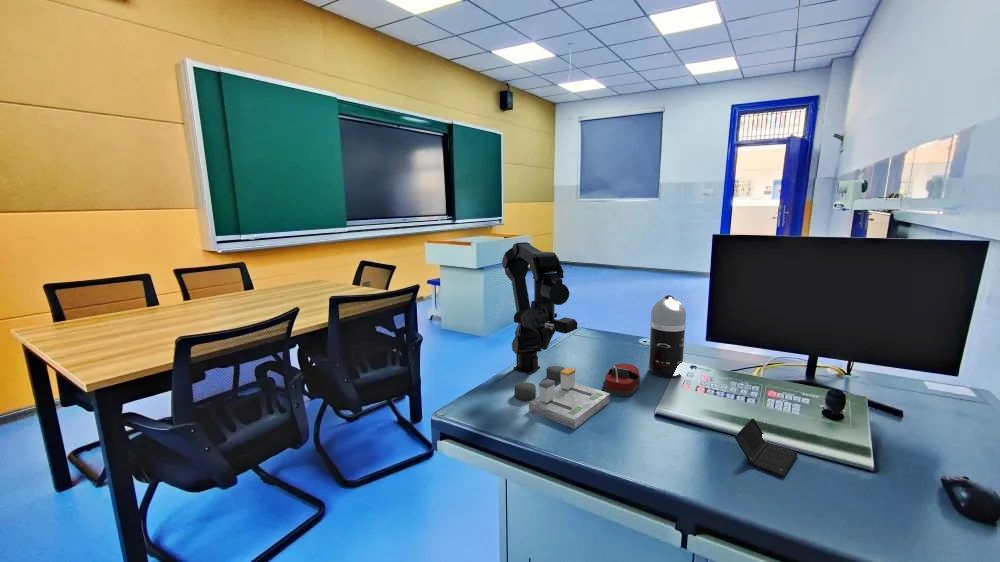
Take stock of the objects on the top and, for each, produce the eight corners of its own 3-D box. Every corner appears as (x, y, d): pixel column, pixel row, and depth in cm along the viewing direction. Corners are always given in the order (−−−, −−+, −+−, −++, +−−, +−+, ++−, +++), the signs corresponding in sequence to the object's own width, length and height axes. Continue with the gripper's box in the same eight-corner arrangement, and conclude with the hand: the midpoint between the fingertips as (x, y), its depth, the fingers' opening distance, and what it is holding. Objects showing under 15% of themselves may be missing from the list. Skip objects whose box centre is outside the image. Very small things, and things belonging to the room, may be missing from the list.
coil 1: (510, 397, 120) (510, 387, 120) (523, 390, 125) (523, 380, 124) (527, 403, 116) (526, 393, 116) (540, 395, 121) (540, 386, 120)
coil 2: (542, 379, 131) (542, 370, 131) (553, 373, 136) (553, 364, 135) (558, 384, 127) (558, 375, 127) (569, 378, 132) (569, 369, 131)
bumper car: (644, 377, 132) (645, 346, 130) (631, 405, 114) (633, 370, 113) (612, 372, 136) (613, 342, 134) (595, 398, 119) (596, 364, 117)
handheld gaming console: (796, 475, 82) (764, 426, 85) (759, 485, 86) (730, 438, 89) (800, 454, 91) (770, 410, 94) (766, 465, 95) (739, 422, 98)
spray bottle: (685, 370, 136) (690, 293, 131) (679, 381, 128) (684, 300, 123) (652, 364, 142) (655, 290, 137) (644, 374, 133) (647, 297, 128)
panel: (528, 411, 112) (528, 402, 112) (566, 388, 125) (566, 379, 125) (574, 429, 103) (574, 419, 102) (609, 402, 116) (610, 393, 115)
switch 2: (560, 387, 119) (560, 371, 118) (567, 383, 122) (567, 367, 121) (567, 389, 118) (568, 373, 117) (575, 385, 120) (575, 369, 119)
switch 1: (539, 400, 112) (539, 383, 111) (547, 395, 115) (547, 378, 114) (546, 403, 110) (546, 385, 109) (554, 398, 113) (555, 381, 112)
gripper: (500, 297, 121) (502, 350, 123) (555, 307, 108) (555, 365, 111) (525, 291, 129) (525, 340, 132) (578, 299, 116) (578, 353, 119)
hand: (544, 349), depth 123 cm, fingers closed
